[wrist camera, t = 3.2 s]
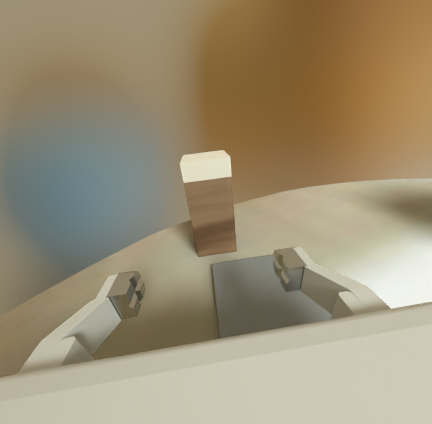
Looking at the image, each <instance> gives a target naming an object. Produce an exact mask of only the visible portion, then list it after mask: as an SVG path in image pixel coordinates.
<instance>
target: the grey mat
mask: <svg viewBox="0 0 432 424" xmlns="http://www.w3.org/2000/svg"><path fill="white" fill-rule="evenodd" d="M274 259H275V257H274V255H268V256H261V257H255V258H248V259H241V260H235V261H228V262H222V263H215V264H212V269H213V278H214V288H215V297H216V307H217V316H218V326H219V336H220V338H226V337H232V336H238V335H243V334H249V333H255V332H261V331H266V330H272V329H278V328H284V327H289V326H295V325H301V324H307V323H312V322H318V321H324V320H330V319H331V315H332V314H330V313H329V312H328V311H326V310H325V309H324V308H322V307H321V306H320V305H318V304H317V303H316V302H314V301H313V300H312V299H310V298H309V297H308V296H306V295H305V294H304V293H302V292H301V291H300V290H298V291H291V292H285V290H284V288H283V287H282V285H281V283H280V281H281V279H280V278H279V277H277V275H276V274H275V271H274V267H273V261H274Z"/></svg>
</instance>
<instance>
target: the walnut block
mask: <svg viewBox="0 0 432 424" xmlns="http://www.w3.org/2000/svg"><path fill="white" fill-rule="evenodd" d="M180 167H181V172H182V177H183V182H184V186H185V192H186V197H187V202H188V207H189V211H190V216H191V222H192V227H193V232H194V237H195V241H196V246H197V251H198V256H199V257H202V256H208V255H215V254H222V253H228V252H235V251H237V249H236V235H235V220H234V206H233V191H232V178H231V162H230V156H229V155H228V154H227V153H226V152H225V151H224V150H221V151H214V152H205V153H197V154H190V155H183V157H182V160H181V162H180Z"/></svg>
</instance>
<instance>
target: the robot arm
mask: <svg viewBox="0 0 432 424" xmlns="http://www.w3.org/2000/svg"><path fill="white" fill-rule="evenodd" d="M274 257H275V259H274V261H273V267H274V271H275V274H276V275H277V277H279V278H280V279H281V281H280V283H281V285H282V287H283V288H284V290H285V292H291V291H298V290H300V291H301V292H302V293H304V294H305V295H306V296H308V297H309V298H310V299H312V300H313V301H314V302H316V303H317V304H318V305H320V306H321V307H322V308H324V309H325V310H326V311H328V312H329V313H330V314H332V315H331V319H330V320H324V321H318V322H312V323H307V324H301V325H295V326H289V327H284V328H278V329H272V330H266V331H261V332H255V333H249V334H243V335H238V336H232V337H226V338H220V339H215V340H209V341H203V342H197V343H192V344H186V345H180V346H174V347H168V348H163V349H157V350H151V351H145V352H139V353H134V354H128V355H122V356H116V357H111V358H105V359H99V360H94V359H93V358H92V356H93V354H94V353H95V352H96V351H97V350H98V348H99V347H100V346H101V345H102V344H103V342H104V341H105V340H106V339H107V337H108V336H109V335H110V334H111V333H112V331H113V330H114V329H115V328H116V326H117V325H118V324H119V323H120V322H121V319H126V318H132V317H137V316H138V313H139V309H140V306H141V304H140V302H139V301H140V300H141V299H142V298H143V296H144V291H145V287H144V283H143V281H142V280H140V276H141V275H140V273H139V271H132V272H124V273H118V274H111V275H109V276H108V278H107V280H106V281H105V283H104V285H103V286H102V288H101V290H100V292H99V293H98V295H97V297H96V298H95V299H94V300H91V301H90V302H89V303H87V304H86V305H85V306H84V307H82V308H81V309H80V310H79V311H77V312H76V313H75V314H74V315H72V316H71V317H70V318H69V319H67V320H66V321H65V322H64V323H63V324H61V325H60V326H59V327H58V328H56V329H55V330H54V331H53V332H51V333H50V334H49V335H48V336H46V337H45V338H44V339H43V340H41V341H40V343H39V344H38V346H37V347H36V348H35V350H34V351H33V352H32V354H31V355H30V357H29V358H28V359H27V361H26V362H25V364H24V365H23V366H22V368H21V369H20V370H19V372H18V373H17V374H13V375H7V376H1V377H0V424H432V302H427V303H422V304H416V305H410V306H404V307H399V308H393V309H391V308H390V307H389V306H388V305H386V304H385V303H384V302H383V301H382V300H381V299H380V298H379V297H378V296H377V295H376V294H375V293H374V292H373V291H372V290H370V289H369V288H368V287H367V286H365V285H363V284H360V283H358V282H356V281H354V280H352V279H350V278H347V277H345V276H343V275H341V274H339V273H337V272H335V271H332V270H330V269H328V268H326V267H324V266H322V265H320V264H317V265H316V263H315V262H314V261H313V260H312V259H311V258H310V257H309V256H308V254H307V253H306V252H305V251H304V250H303V249H302V248H301V247H300V246H296V247H291V248H284V249H278V250H275V251H274Z"/></svg>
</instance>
